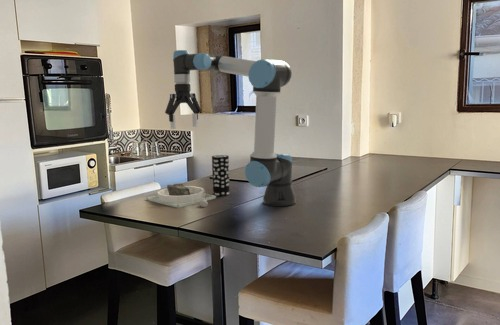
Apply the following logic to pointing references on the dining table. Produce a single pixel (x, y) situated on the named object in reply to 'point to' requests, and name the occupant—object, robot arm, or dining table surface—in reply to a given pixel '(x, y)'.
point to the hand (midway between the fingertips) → (184, 127)
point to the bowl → (194, 195)
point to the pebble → (203, 203)
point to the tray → (155, 199)
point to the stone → (178, 190)
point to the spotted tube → (220, 175)
